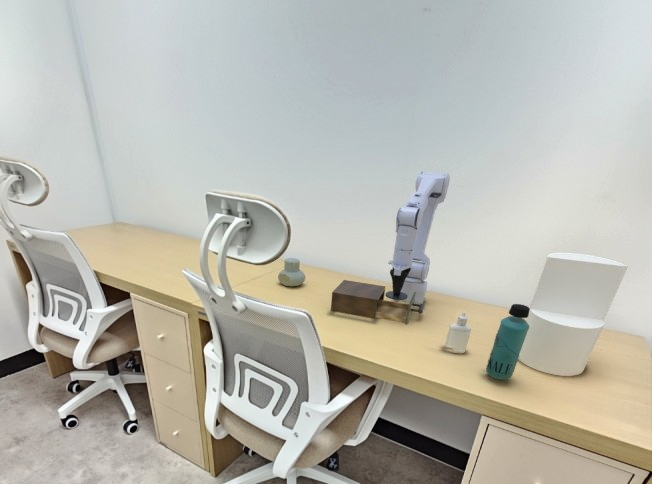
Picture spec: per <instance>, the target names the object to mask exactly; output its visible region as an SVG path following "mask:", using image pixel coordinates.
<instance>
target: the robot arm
mask: <svg viewBox="0 0 652 484" xmlns="http://www.w3.org/2000/svg"><path fill="white" fill-rule="evenodd" d="M450 179H451V176H450V173H448V172H446V173H443V172H428V171H427V172H426V171H422V170H421V171H419V173H418V174H417V176H416V180H415V192H414V193H412V194H411V195H410V196H409V198H408V200H407V201H406V203H405V204H404V205H402V207H398V210H397V213H396V218H395V233H396V234H395V235H396V236H395V243H394V249H393V255H392V260H389V261H388V262H387V263H388V265H391V266H392V268H391V269H389V275H390V277H391V283H392V291H393V292H394V293H400V291H401V292H403V293H405V294H407V295H408V297H407V299H405V300H400V302H402V303H406V304H409V303H410V301H411V298H412V296H413V294H414V292H416V296H415V302H414V304H420V305H421V304H424V303H425V302H426V293H427V288H428V281H426V280H427V278H428V275H429V272H430V271H429V270H430V265H431V259H430V257H429V256H428V255H427V254H426V253H425V252H426V247H427V244H428V240H429V236H430V232H431V228H432V225H433V222H434V221H433V220H434V218H435V213H436V210H437V208H438V206H439V205H440V204H442V203H444V202H445V199H446V197H447V193H448V190H449V186H450V181H451V180H450Z"/></svg>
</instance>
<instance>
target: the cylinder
mask: <svg viewBox="0 0 652 484" xmlns="http://www.w3.org/2000/svg"><path fill="white" fill-rule="evenodd" d="M628 268H629V266H628V265H626V264H624V263H623V262H619V261H618V260H614V259H612V258H611V259H610V258H606V257H604V256H603V257H602V256H597V255H592V254H586V253H580V252H579V253H578V252H566V251H565V252H563V251H562V252H561V251H559V252H551V253H549V254H547V256H546V259H545V261H544V265H543V267H542V271H541V273H540V276H539V279H538V281H537V285H536V288H535V291H534V293H533V296H532V299H531V302H530V305H529V308H530V310H529V315H528V317H527V318H525V320H526V322H527V323H528V324H529V329H528V332H527V334H526V337H525V340H524V343H523V346H522V348H521V351H520V354H519V356H520V357H518V361H519V362H521V363H523V364H524V365H526V366H528V367H530V368H532V369H534V370H537V371H539V372H541V373H546V374H550V375H555V376H560V377H572V376H578V375H580V374H582V373H583V372H584V370H585V368H586V366H587V364H588V361H589V359H590V357H591V355H592V352H593V350H594V348H595V346H596V345H597V341H598V339H599V338H600V335H601V333H602V332H603V331H602V330H603V328H604V327H605V325H606V324H605V319H606V316H607V315H608V312H609V310H610V308H611V305H612V303H613V301H614V299H615V297H616V294H617V292H618V289H619V288H620V286H621V284H622V281H623V279H624V276H625V275H626V272H627V270H628Z"/></svg>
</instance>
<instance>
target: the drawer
mask: <svg viewBox="0 0 652 484" xmlns="http://www.w3.org/2000/svg"><path fill="white" fill-rule="evenodd" d="M415 296H416V292H414V294H413V296H412V298H411V301H410V303H405V302H397V301H392V300H386V299H384V300H380V299H378V301H377V308H376V315H375V318H377V319H383V320H389V321H393V322H399V323H404V325H408V324H409V321H410V318H411V316H412V313H413V312H414V313H418V314H419V315H422V314H423V312H424V309H425V307H426V306H425V304H424V303H423V304H417V303H414V302H415ZM415 307H417V308H418V309H417V308H415Z"/></svg>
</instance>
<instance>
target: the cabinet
mask: <svg viewBox="0 0 652 484" xmlns="http://www.w3.org/2000/svg"><path fill="white" fill-rule="evenodd" d="M386 287H387V286H385V285H380V284H373V283H367V282H360V281H354V280H347V279H344V280H342V282H340V284H339V285H338V286H336V288H334V290H333V291H332V292H331V304H330V312H336V313H341V314H347V315H353V316H358V317H363V318H370V319H376V317H375V315H376V308H377V301H378V299H380V300H385V294H386Z"/></svg>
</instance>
